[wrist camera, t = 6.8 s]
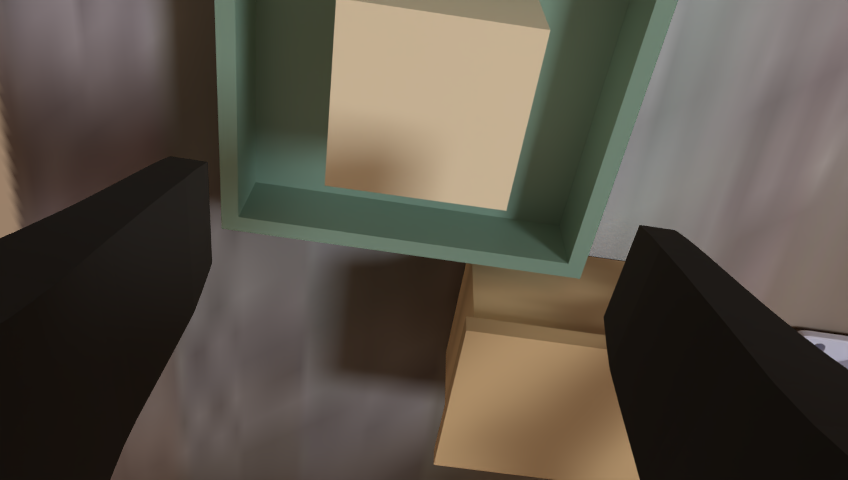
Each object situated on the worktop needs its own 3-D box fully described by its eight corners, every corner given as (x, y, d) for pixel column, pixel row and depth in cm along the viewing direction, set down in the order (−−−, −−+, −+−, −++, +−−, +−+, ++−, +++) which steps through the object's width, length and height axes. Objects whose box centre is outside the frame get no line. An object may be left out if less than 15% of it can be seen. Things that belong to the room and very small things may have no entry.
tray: (686, -132, 17) (720, -120, 14) (568, 233, 23) (580, 278, 21) (239, -210, 16) (207, -208, 14) (243, 187, 22) (221, 228, 20)
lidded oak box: (719, 267, 23) (776, 372, 19) (660, 386, 27) (698, 497, 23) (464, 231, 23) (466, 330, 19) (437, 357, 26) (433, 464, 22)
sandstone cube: (530, -22, 18) (550, 30, 14) (496, 132, 20) (506, 210, 17) (361, -49, 18) (336, -3, 14) (348, 110, 20) (324, 185, 16)
